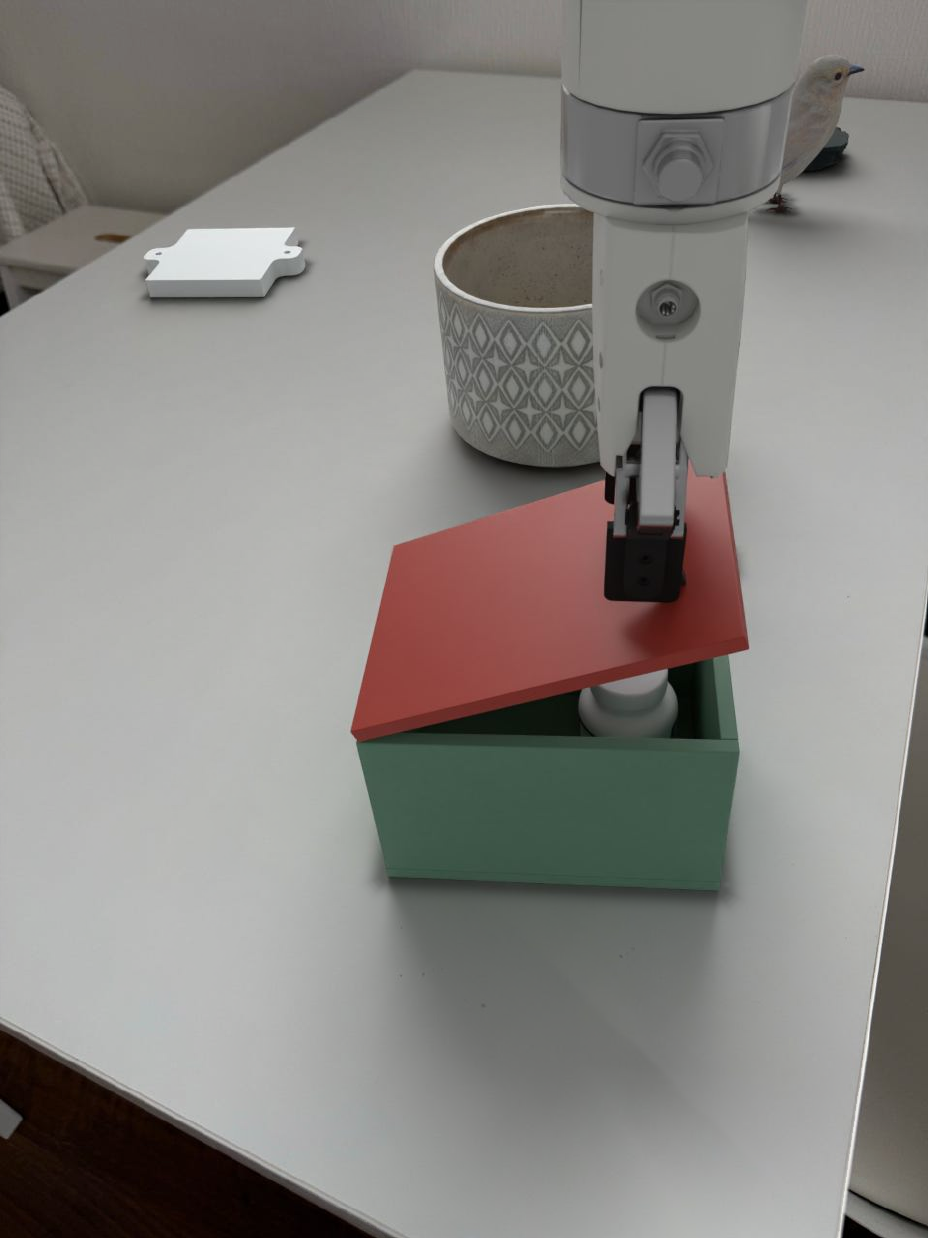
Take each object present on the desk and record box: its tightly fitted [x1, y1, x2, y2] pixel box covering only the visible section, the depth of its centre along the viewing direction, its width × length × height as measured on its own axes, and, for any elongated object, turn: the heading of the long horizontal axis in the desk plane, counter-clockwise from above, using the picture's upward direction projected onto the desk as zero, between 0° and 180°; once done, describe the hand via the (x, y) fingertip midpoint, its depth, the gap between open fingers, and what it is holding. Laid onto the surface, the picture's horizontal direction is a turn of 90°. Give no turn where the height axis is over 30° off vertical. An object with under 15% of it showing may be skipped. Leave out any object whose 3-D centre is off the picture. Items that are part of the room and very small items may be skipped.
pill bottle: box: [578, 669, 678, 739], centre depth 56 cm, size 5×5×9 cm
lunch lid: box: [349, 448, 750, 742], centre depth 49 cm, size 18×14×5 cm
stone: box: [803, 126, 850, 172], centre depth 123 cm, size 8×12×3 cm
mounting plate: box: [143, 226, 306, 298], centre depth 114 cm, size 18×13×2 cm
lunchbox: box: [355, 654, 741, 891], centre depth 56 cm, size 18×14×11 cm
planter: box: [433, 203, 668, 469], centre depth 83 cm, size 19×19×14 cm
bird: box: [765, 54, 866, 214], centre depth 110 cm, size 5×14×15 cm, turn 89°
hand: (639, 543), depth 47 cm, fingers closed on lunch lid, 6 cm apart
